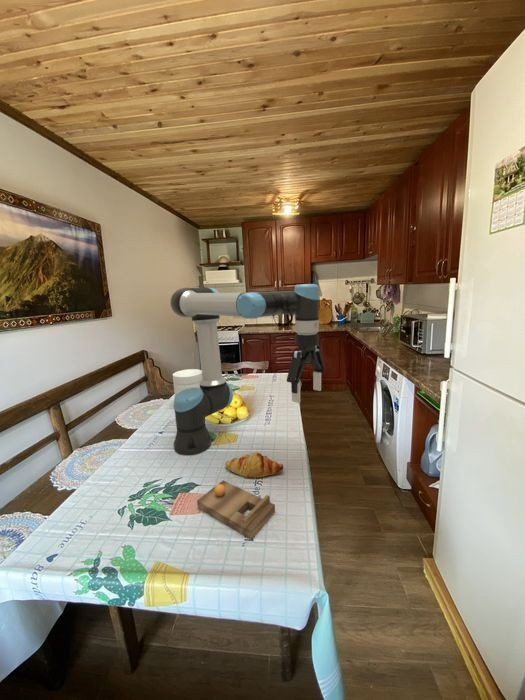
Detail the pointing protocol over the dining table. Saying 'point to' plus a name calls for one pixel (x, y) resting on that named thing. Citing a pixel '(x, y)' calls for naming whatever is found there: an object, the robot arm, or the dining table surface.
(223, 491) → the ball
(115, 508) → the dining table surface
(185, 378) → the canister
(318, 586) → the dining table surface
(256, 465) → the croissant
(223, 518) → the wooden tray with slot
